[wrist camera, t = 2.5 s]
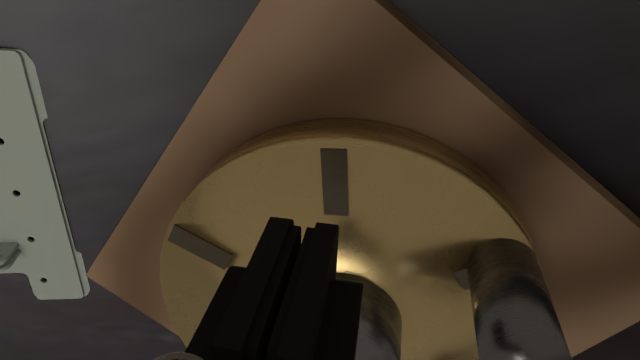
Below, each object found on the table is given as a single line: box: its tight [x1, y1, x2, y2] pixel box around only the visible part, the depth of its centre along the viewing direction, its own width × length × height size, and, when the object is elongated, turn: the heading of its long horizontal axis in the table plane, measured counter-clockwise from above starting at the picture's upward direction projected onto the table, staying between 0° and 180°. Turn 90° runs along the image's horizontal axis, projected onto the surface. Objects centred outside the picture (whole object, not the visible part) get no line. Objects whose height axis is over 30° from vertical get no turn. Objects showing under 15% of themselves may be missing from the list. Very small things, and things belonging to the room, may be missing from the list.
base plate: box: [86, 0, 640, 357], centre depth 22 cm, size 20×20×2 cm
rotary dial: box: [160, 119, 572, 360], centre depth 18 cm, size 16×16×7 cm
